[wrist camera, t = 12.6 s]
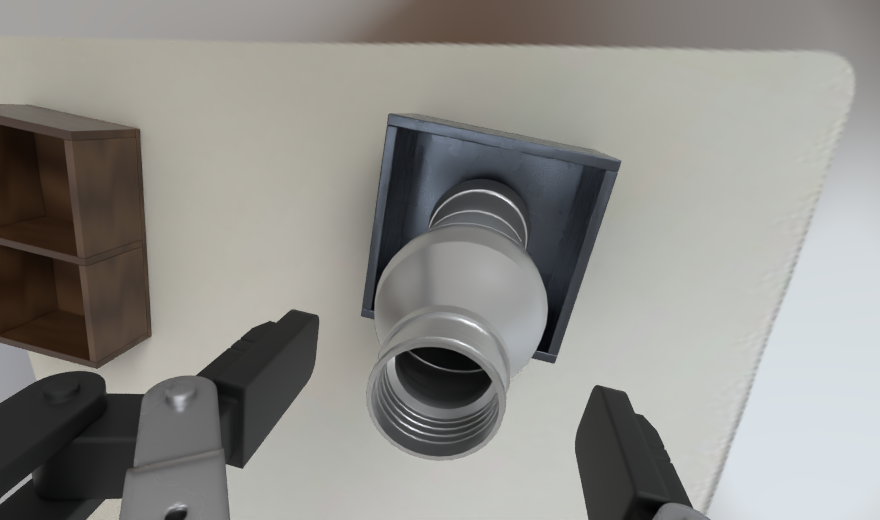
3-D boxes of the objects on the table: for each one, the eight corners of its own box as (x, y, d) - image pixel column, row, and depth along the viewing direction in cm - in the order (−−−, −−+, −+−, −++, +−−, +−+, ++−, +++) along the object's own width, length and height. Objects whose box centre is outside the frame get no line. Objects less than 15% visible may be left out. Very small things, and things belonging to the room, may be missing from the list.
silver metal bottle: (415, 226, 30) (265, 405, 12) (478, 152, 28) (416, 225, 9) (483, 283, 31) (445, 541, 12) (550, 215, 29) (628, 404, 10)
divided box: (28, 104, 33) (-59, 102, 28) (139, 128, 32) (70, 131, 27) (58, 311, 39) (-9, 340, 34) (151, 335, 38) (97, 369, 33)
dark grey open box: (415, 113, 29) (388, 113, 22) (596, 150, 28) (621, 160, 21) (389, 277, 33) (360, 316, 26) (545, 314, 32) (554, 364, 26)
